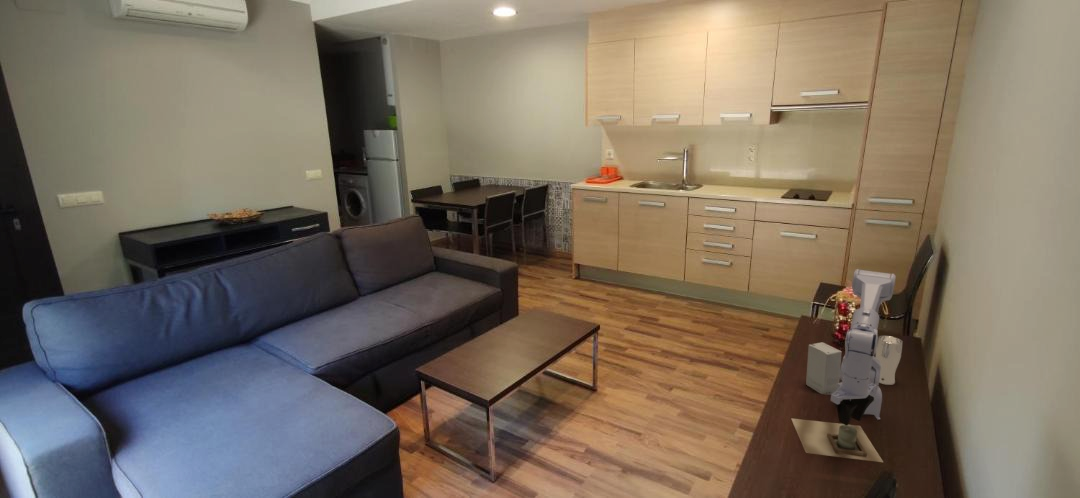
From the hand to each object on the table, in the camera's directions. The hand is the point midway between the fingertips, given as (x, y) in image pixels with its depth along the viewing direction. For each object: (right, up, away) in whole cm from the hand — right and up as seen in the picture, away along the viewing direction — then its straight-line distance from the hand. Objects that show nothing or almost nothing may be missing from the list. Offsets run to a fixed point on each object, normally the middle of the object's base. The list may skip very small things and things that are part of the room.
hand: (849, 421), depth 129 cm
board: (-1, -8, +5) cm, 10 cm away
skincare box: (+11, -1, +33) cm, 34 cm away
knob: (0, -7, +2) cm, 8 cm away
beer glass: (+35, +1, +37) cm, 51 cm away
